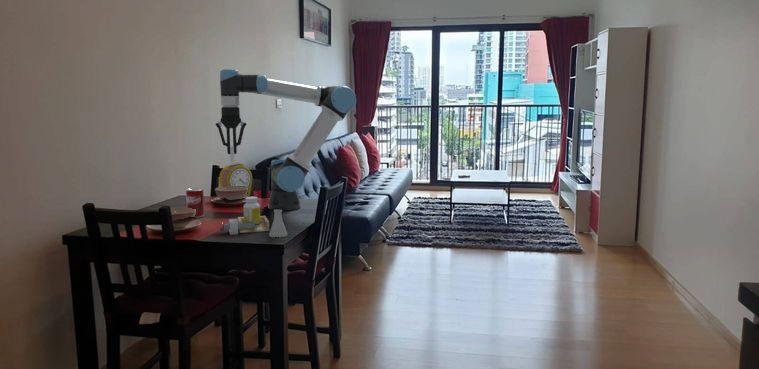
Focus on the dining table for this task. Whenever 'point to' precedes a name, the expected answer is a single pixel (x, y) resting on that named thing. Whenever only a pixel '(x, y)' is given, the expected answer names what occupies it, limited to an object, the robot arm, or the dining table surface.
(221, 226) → the lock pin
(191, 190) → the soda can
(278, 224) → the flask
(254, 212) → the pill bottle
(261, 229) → the dock
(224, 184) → the alarm clock
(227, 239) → the dining table surface
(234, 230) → the pin mount
